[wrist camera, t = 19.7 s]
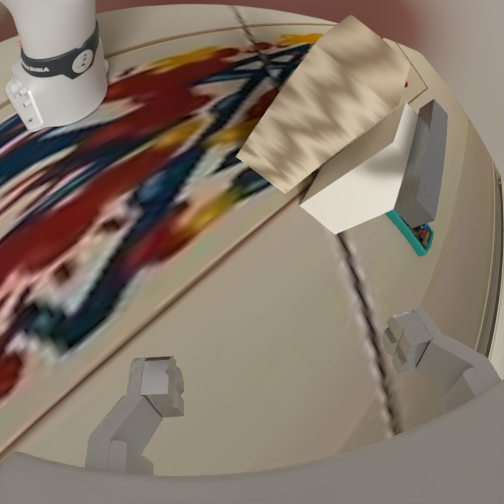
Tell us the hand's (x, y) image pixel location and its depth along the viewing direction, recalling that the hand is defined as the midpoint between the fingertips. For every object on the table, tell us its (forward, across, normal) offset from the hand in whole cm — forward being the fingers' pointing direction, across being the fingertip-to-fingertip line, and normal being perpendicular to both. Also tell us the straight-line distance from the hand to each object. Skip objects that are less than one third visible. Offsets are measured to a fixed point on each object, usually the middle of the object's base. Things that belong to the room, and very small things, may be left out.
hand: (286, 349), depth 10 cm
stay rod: (+22, -21, +1) cm, 30 cm away
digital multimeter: (+41, -35, +22) cm, 58 cm away
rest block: (+39, -16, +14) cm, 44 cm away
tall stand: (+43, -8, +5) cm, 44 cm away
